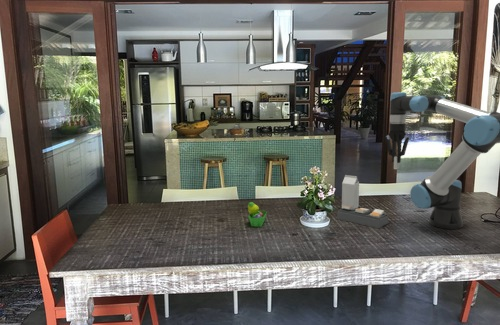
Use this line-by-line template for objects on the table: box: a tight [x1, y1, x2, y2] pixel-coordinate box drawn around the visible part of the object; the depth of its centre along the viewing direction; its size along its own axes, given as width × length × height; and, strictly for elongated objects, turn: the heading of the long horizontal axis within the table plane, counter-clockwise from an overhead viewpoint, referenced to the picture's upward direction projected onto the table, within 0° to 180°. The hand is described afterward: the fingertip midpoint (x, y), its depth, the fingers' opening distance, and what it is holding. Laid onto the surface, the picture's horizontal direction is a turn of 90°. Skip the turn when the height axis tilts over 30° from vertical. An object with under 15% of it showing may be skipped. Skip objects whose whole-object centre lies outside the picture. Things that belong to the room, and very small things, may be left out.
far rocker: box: [341, 205, 355, 210], centre depth 211 cm, size 4×6×1 cm
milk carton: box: [341, 174, 360, 209], centre depth 228 cm, size 7×7×19 cm
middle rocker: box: [355, 207, 370, 213], centre depth 205 cm, size 4×6×1 cm
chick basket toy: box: [247, 201, 267, 228], centre depth 204 cm, size 11×9×11 cm
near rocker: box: [370, 208, 385, 218], centre depth 200 cm, size 4×6×1 cm
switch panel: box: [336, 207, 389, 229], centre depth 206 cm, size 23×10×5 cm, turn 47°
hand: (396, 168), depth 208 cm, fingers closed
